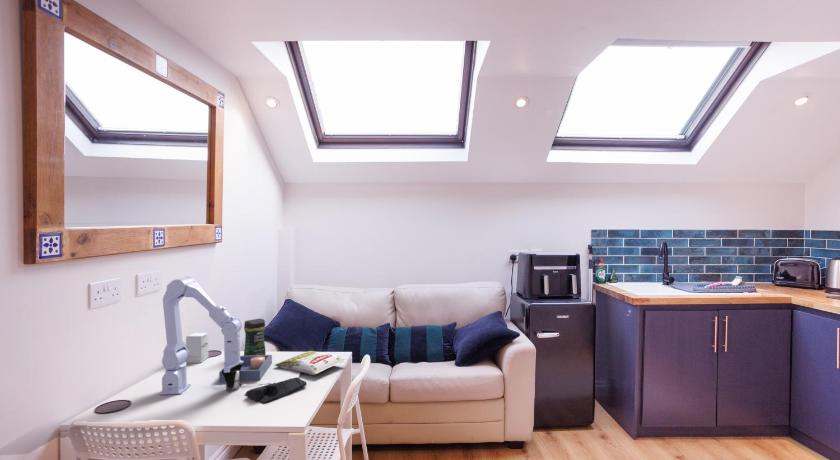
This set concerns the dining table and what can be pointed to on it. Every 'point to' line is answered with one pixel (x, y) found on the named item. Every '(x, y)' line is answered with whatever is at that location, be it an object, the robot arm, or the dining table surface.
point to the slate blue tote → (246, 370)
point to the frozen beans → (311, 362)
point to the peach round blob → (257, 362)
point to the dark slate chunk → (275, 390)
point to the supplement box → (197, 347)
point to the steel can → (235, 383)
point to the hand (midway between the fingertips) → (232, 384)
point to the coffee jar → (254, 337)
